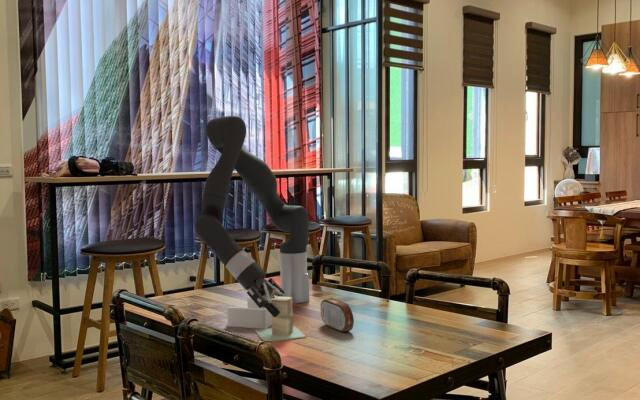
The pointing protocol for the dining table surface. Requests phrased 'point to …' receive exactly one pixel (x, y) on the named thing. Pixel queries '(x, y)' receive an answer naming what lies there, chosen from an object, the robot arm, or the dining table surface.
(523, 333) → the dining table surface
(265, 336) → the sage mat
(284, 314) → the maple block
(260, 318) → the box
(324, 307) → the tin
